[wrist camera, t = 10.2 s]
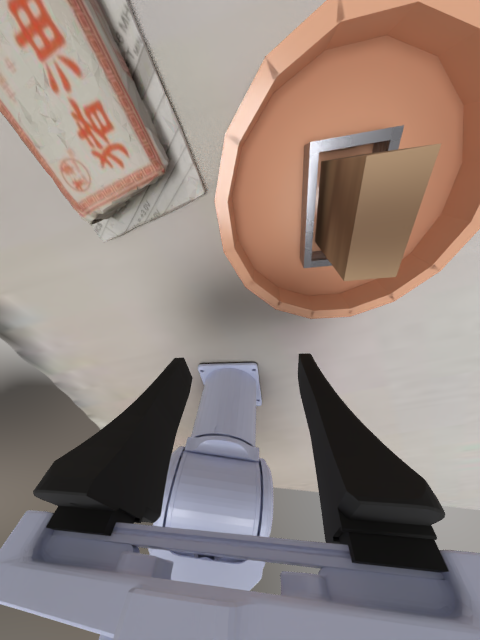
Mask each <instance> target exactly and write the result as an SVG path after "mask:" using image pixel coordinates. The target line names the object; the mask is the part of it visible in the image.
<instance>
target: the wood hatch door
mask: <svg viewBox="0 0 480 640" xmlns="http://www.w3.org/2000/svg"><path fill="white" fill-rule="evenodd" d="M441 144H442V143H441ZM441 144H434V145H426V146H419V147H412V148H405V149H398V150H391V151H384V152H377V153H369V154H362V155H356V156H350V157H344V158H338V159H332V160H326V161H321V170H320V182H319V195H318V207H317V220H316V233H315V243H316V244H317V245H318V247H319V248H320V249H321V251H322V252H323V253H324V255H325V256H326V258H327V259H328V260H329V262H330V263H331V264H332V266H333V267H334V268H335V270H336V271H337V272H338V274H339V275H340V277H341V278H342V279H343V281H353V280H365V279H377V278H390V277H396V275H397V272H398V270H399V267H400V264H401V261H402V258H403V255H404V252H405V249H406V246H407V243H408V240H409V237H410V235H411V232H412V229H413V226H414V223H415V220H416V217H417V214H418V211H419V208H420V205H421V202H422V199H423V197H424V194H425V191H426V188H427V185H428V182H429V179H430V176H431V173H432V170H433V167H434V164H435V161H436V159H437V156H438V153H439V150H440V147H441Z"/></svg>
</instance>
